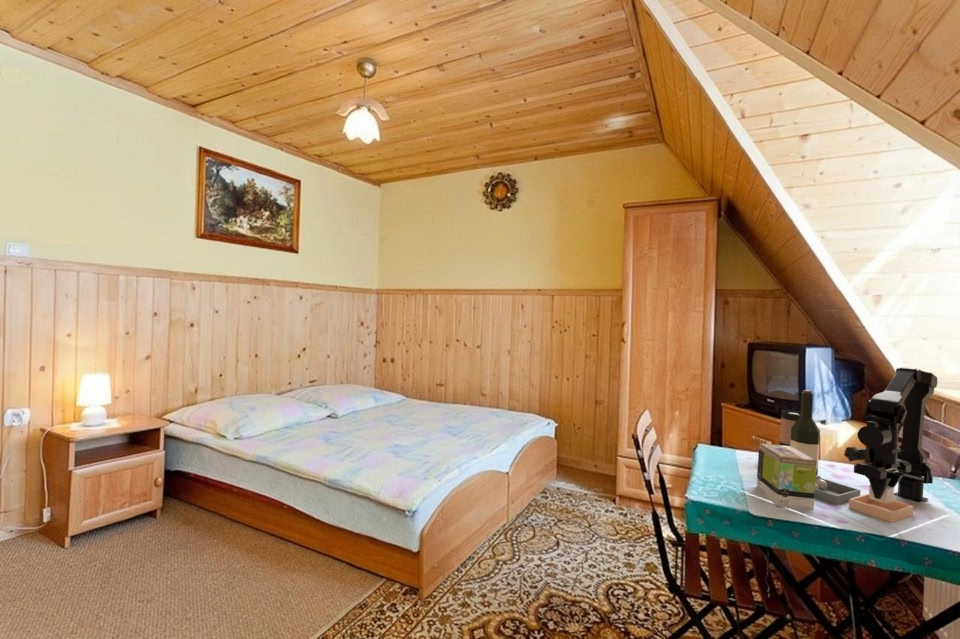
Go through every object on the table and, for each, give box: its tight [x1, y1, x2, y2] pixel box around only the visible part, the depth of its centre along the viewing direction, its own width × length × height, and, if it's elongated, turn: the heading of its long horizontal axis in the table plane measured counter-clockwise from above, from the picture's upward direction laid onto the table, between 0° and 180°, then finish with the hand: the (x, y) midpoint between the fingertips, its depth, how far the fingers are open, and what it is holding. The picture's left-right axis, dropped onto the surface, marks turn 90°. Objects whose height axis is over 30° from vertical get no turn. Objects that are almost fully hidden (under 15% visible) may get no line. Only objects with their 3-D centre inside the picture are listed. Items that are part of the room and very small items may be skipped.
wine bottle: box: [790, 389, 821, 476], centre depth 159 cm, size 8×8×30 cm
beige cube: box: [868, 483, 895, 504], centre depth 131 cm, size 4×4×4 cm
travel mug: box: [779, 409, 801, 446], centre depth 171 cm, size 8×8×20 cm
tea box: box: [756, 443, 817, 510], centre depth 139 cm, size 15×10×15 cm, turn 170°
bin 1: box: [814, 475, 861, 505], centre depth 147 cm, size 13×22×4 cm, turn 27°
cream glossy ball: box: [815, 479, 827, 490], centre depth 146 cm, size 3×3×3 cm
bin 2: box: [848, 493, 914, 523], centre depth 131 cm, size 12×10×3 cm
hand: (881, 497), depth 131 cm, fingers closed on beige cube, 4 cm apart
